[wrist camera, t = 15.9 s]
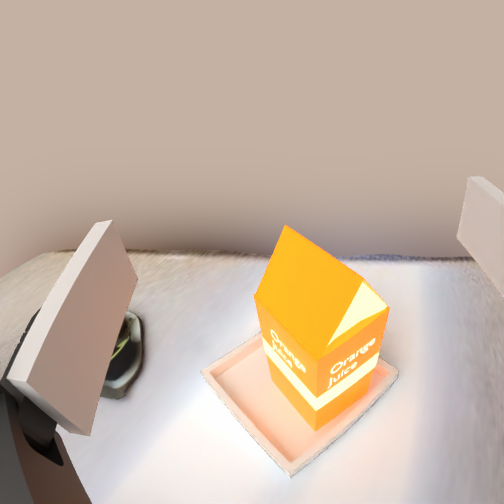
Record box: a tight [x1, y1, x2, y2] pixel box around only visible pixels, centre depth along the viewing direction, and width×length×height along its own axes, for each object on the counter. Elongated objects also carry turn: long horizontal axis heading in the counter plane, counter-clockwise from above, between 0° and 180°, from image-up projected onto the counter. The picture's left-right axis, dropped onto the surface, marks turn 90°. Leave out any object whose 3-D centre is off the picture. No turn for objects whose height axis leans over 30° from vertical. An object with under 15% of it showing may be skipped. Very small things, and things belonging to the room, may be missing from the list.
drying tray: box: [200, 332, 399, 478], centre depth 34 cm, size 17×17×2 cm
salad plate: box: [100, 311, 143, 399], centre depth 40 cm, size 19×18×5 cm
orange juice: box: [254, 225, 390, 431], centre depth 27 cm, size 8×9×20 cm
